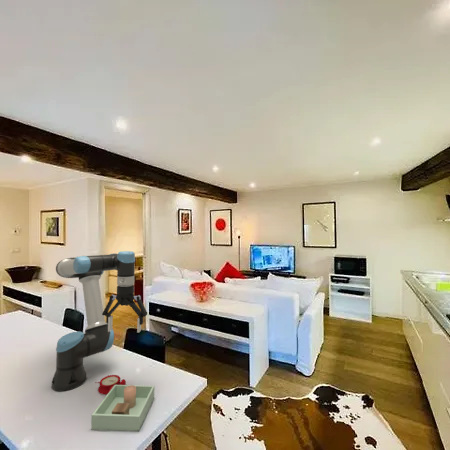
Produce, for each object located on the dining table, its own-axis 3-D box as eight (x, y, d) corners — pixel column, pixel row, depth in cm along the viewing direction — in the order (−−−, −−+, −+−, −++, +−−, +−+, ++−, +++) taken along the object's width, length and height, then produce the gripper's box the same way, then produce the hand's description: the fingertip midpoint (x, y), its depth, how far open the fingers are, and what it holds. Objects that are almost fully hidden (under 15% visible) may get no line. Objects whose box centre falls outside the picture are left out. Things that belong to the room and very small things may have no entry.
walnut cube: (111, 424, 102) (111, 411, 102) (117, 415, 107) (117, 402, 107) (124, 424, 102) (124, 411, 102) (129, 415, 107) (129, 403, 107)
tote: (91, 429, 100) (91, 415, 100) (114, 397, 119) (114, 384, 119) (138, 431, 99) (139, 416, 99) (154, 398, 119) (154, 385, 119)
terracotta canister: (121, 408, 111) (122, 392, 111) (126, 401, 116) (126, 385, 116) (133, 409, 110) (133, 392, 111) (137, 401, 115) (137, 385, 116)
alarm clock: (110, 372, 134) (130, 373, 127) (111, 385, 133) (132, 386, 126) (91, 382, 124) (112, 384, 118) (93, 396, 124) (114, 398, 117)
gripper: (94, 285, 116) (93, 333, 116) (149, 287, 115) (148, 335, 115) (103, 282, 124) (102, 326, 124) (154, 283, 123) (153, 328, 123)
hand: (124, 331), depth 119 cm, fingers open, 13 cm apart
